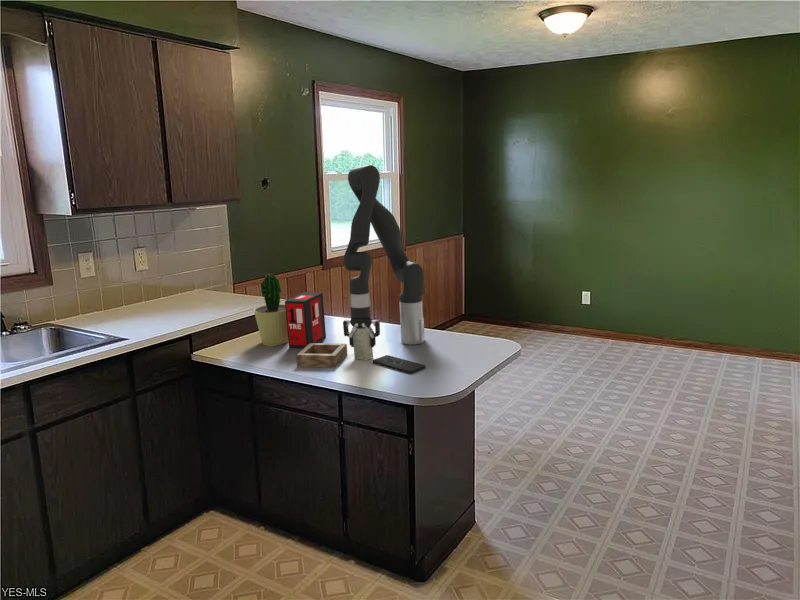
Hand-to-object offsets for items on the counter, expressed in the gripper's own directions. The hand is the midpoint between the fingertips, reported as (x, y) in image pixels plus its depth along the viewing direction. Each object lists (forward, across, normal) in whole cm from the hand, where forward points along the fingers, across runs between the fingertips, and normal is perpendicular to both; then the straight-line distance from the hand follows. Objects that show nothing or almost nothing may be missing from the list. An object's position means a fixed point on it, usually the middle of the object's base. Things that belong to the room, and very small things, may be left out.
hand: (362, 346), depth 230 cm
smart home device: (+5, -15, +8) cm, 18 cm away
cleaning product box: (+5, +29, -18) cm, 34 cm away
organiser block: (+5, +15, +4) cm, 16 cm away
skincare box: (+5, 0, 0) cm, 5 cm away
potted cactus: (+5, +44, -19) cm, 48 cm away
